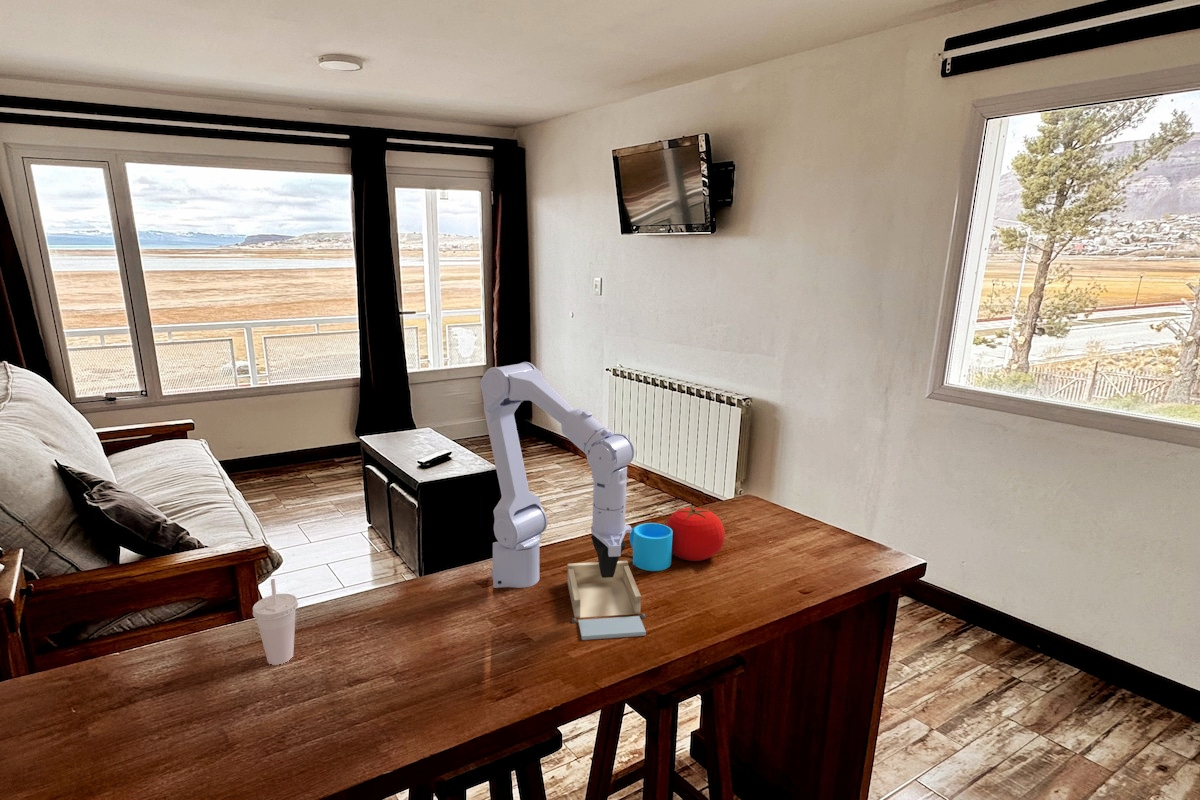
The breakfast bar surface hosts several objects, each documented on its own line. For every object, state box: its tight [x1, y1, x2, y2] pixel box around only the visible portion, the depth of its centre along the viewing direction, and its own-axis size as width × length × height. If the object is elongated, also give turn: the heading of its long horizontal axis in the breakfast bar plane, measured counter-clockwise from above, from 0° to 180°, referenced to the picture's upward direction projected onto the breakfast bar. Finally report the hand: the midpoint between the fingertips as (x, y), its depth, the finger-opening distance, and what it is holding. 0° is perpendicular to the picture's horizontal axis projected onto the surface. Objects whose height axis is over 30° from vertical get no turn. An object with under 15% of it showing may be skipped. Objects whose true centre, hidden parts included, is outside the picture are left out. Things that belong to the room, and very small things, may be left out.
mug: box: [629, 522, 673, 572], centre depth 136 cm, size 12×8×8 cm
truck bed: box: [566, 560, 646, 624], centre depth 119 cm, size 13×15×5 cm
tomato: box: [665, 505, 726, 562], centre depth 139 cm, size 12×13×11 cm
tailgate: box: [577, 615, 647, 641], centre depth 110 cm, size 11×1×5 cm
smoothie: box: [252, 578, 299, 666], centre depth 100 cm, size 6×6×14 cm
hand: (607, 575), depth 113 cm, fingers closed
